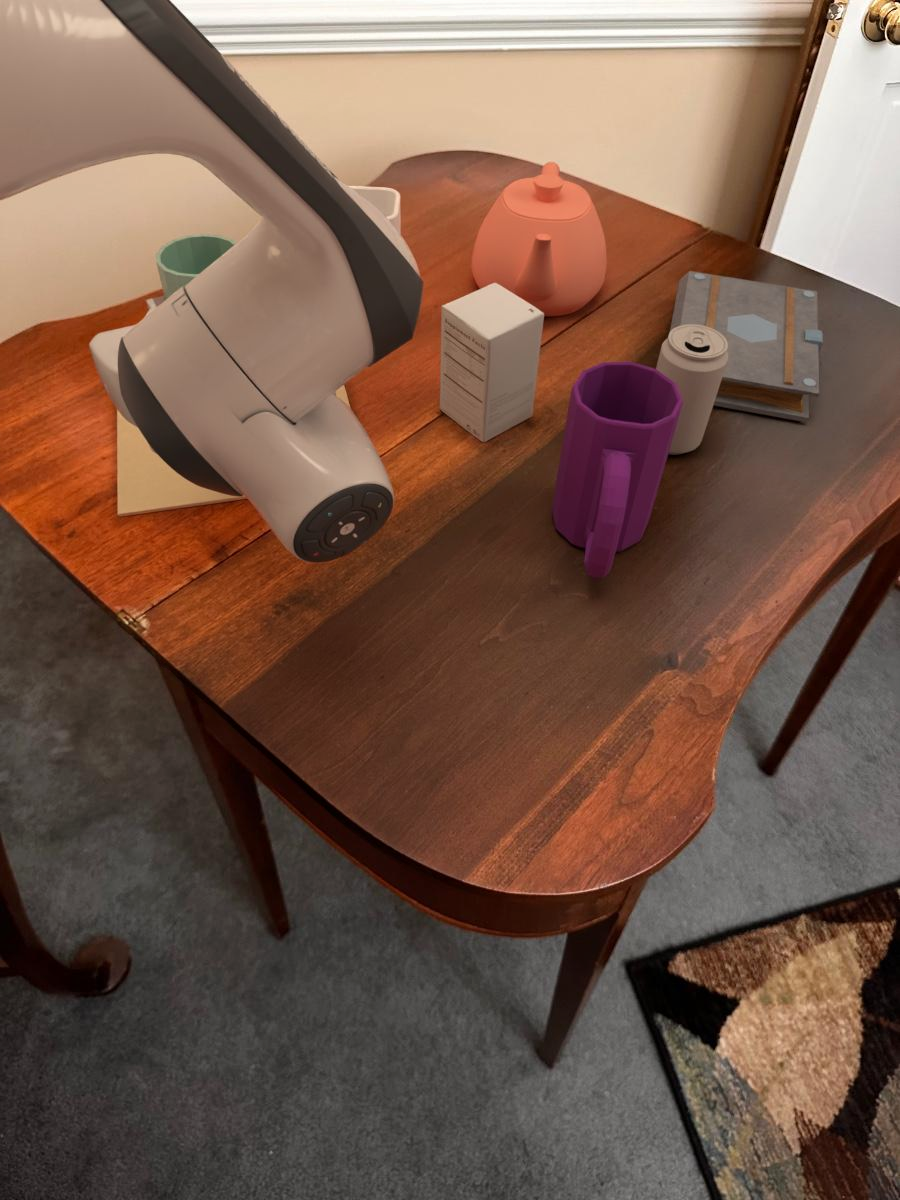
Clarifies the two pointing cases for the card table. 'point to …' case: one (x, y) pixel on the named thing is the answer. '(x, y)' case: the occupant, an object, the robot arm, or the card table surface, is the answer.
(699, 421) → the beverage can
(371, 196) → the cup
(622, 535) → the mug
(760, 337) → the book
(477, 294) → the white packaging box
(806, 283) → the card table surface
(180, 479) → the mat
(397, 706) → the card table surface
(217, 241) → the tumbler
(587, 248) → the teapot
